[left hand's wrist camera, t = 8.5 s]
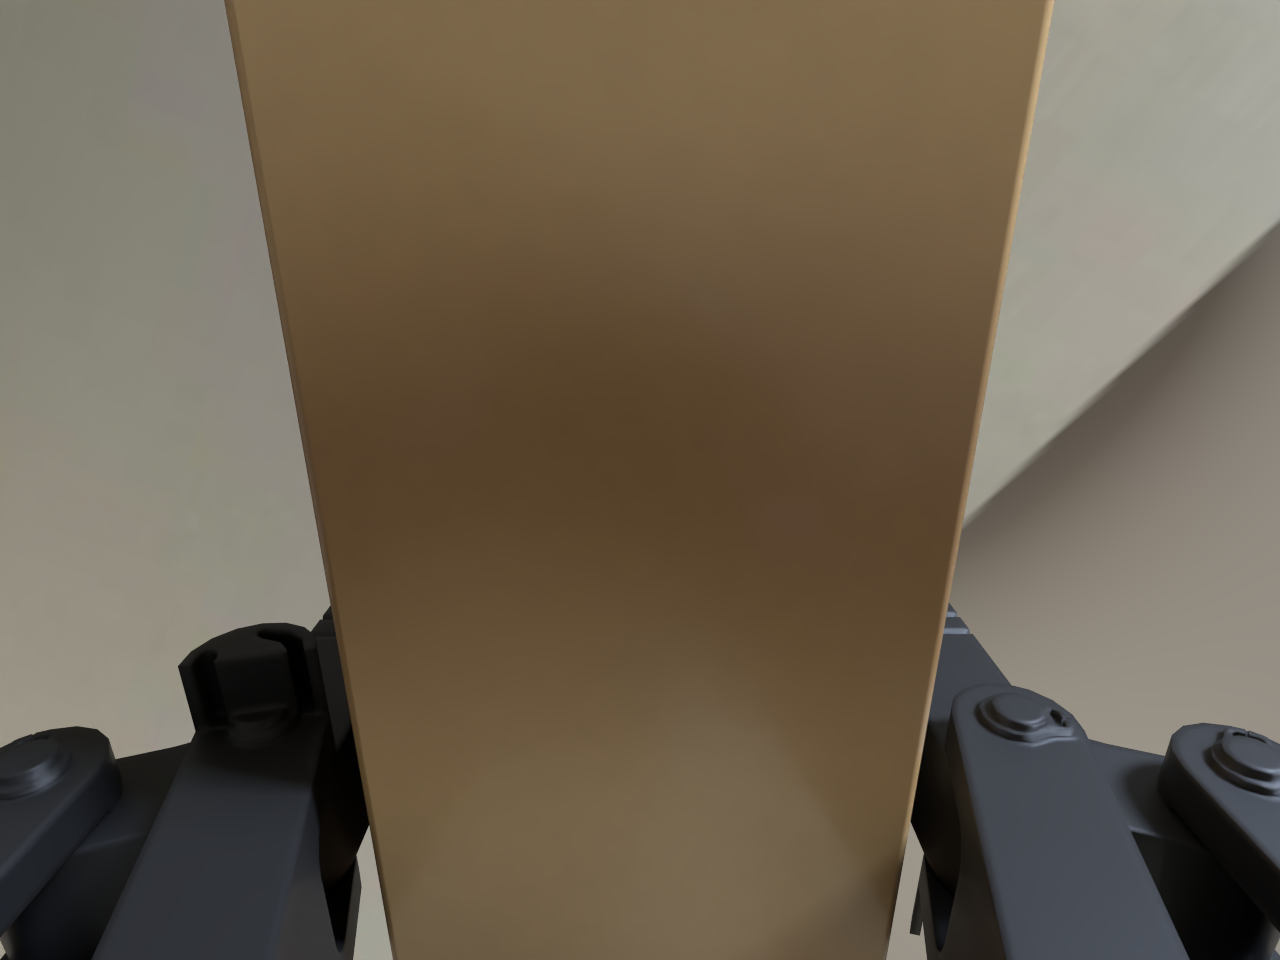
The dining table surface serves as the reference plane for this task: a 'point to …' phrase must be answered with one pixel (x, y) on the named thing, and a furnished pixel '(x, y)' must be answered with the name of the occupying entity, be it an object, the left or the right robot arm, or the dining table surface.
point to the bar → (639, 439)
